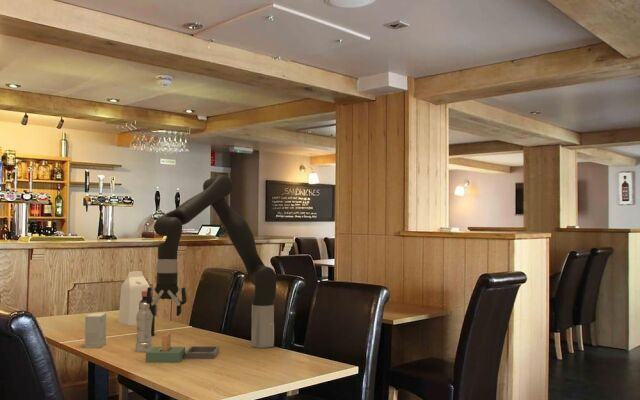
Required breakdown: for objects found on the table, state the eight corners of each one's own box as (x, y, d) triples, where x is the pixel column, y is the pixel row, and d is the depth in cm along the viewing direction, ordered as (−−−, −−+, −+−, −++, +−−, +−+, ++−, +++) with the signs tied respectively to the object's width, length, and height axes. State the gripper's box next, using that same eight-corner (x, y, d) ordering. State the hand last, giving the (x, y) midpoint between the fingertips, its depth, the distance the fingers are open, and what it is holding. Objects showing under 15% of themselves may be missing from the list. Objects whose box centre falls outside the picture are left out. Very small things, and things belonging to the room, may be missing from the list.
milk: (140, 320, 316) (141, 270, 317) (150, 323, 308) (151, 271, 309) (118, 322, 308) (119, 271, 309) (128, 325, 300) (129, 272, 300)
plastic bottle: (137, 356, 232) (137, 304, 233) (133, 353, 238) (134, 302, 239) (154, 355, 235) (155, 303, 236) (150, 351, 241) (151, 301, 242)
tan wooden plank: (170, 357, 224) (170, 333, 225) (166, 360, 219) (167, 335, 219) (164, 357, 224) (165, 332, 225) (161, 360, 219) (161, 335, 219)
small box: (90, 344, 255) (91, 313, 255) (106, 344, 255) (106, 313, 255) (84, 348, 247) (84, 316, 247) (99, 348, 247) (100, 316, 247)
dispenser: (185, 360, 227) (185, 345, 227) (179, 366, 217) (179, 351, 217) (152, 360, 227) (153, 345, 227) (145, 366, 217) (145, 351, 217)
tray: (219, 355, 235) (219, 346, 235) (214, 362, 223) (214, 353, 223) (190, 355, 235) (190, 346, 235) (184, 362, 223) (184, 353, 223)
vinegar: (156, 334, 277) (157, 290, 278) (150, 337, 270) (151, 292, 271) (142, 334, 278) (142, 290, 279) (136, 336, 271) (137, 291, 272)
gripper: (188, 270, 227) (187, 314, 226) (150, 270, 227) (149, 313, 226) (184, 272, 219) (183, 317, 219) (145, 271, 219) (144, 317, 218)
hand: (166, 315), depth 222 cm, fingers open, 8 cm apart
